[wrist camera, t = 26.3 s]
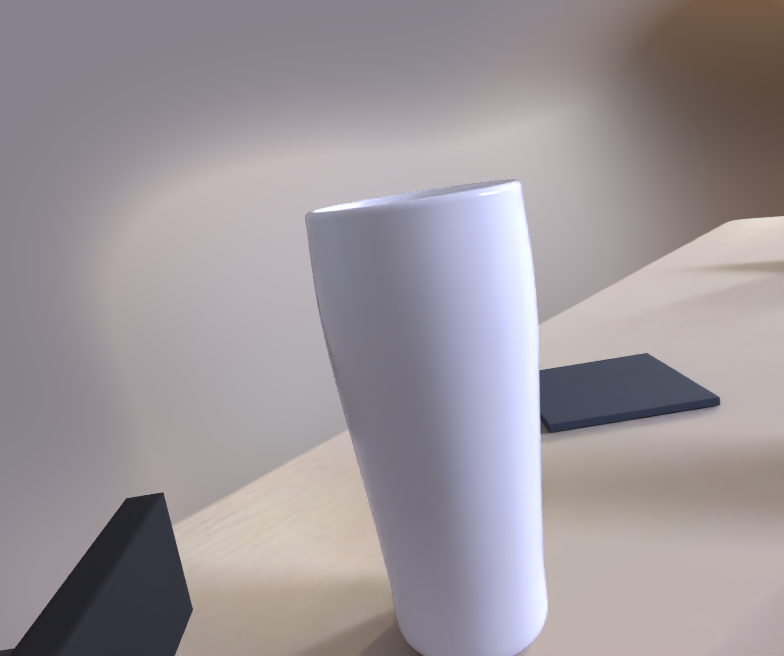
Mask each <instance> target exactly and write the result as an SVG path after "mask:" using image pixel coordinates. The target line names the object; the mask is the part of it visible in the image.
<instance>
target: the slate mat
mask: <svg viewBox="0 0 784 656" xmlns="http://www.w3.org/2000/svg"><path fill="white" fill-rule="evenodd" d="M716 405H720V398H719V397H718V396H717V395H715V394H713V393H712V392H710V391H708V390H707V389H705V388H704V387H702V386H700V385H699V384H697V383H695V382H694V381H692V380H690V379H689V378H687V377H685V376H684V375H682V374H681V373H679V372H677V371H676V370H674V369H672V368H671V367H669V366H667V365H666V364H664V363H662V362H661V361H659V360H657V359H656V358H654V357H653V356H651V355H649V354H648V353H644V354H638V355H632V356H626V357H620V358H613V359H607V360H601V361H595V362H589V363H582V364H576V365H570V366H564V367H558V368H551V369H545V370H540V419H541V421H542V422H543V423H544V425H545V426H546V427H547V429H548V430H549V431H550V432H555V431H562V430H568V429H574V428H580V427H586V426H592V425H599V424H605V423H611V422H617V421H623V420H629V419H636V418H642V417H648V416H654V415H660V414H666V413H672V412H679V411H685V410H691V409H697V408H703V407H709V406H716Z"/></svg>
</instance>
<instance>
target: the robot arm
mask: <svg viewBox="0 0 784 656" xmlns="http://www.w3.org/2000/svg"><path fill="white" fill-rule="evenodd" d="M192 611H193V608H192V604H191V600H190V596H189V592H188V588H187V584H186V580H185V576H184V572H183V568H182V564H181V560H180V557H179V553H178V549H177V545H176V541H175V537H174V533H173V529H172V525H171V521H170V517H169V513H168V509H167V505H166V501H165V498H164V493H157V494H151V495H144V496H138V497H132V498H126V500H125V501H124V502H123V504H122V505H121V506H120V508H119V509H118V510H117V512H116V513H115V514H114V516H113V517H112V518H111V520H110V521H109V522H108V524H107V525H106V526H105V528H104V529H103V530H102V532H101V533H100V535H99V536H98V537H97V538H96V540H95V541H94V543H93V544H92V545H91V547H90V548H89V549H88V551H87V552H86V553H85V555H84V556H83V557H82V559H81V560H80V561H79V563H78V564H77V565H76V567H75V568H74V569H73V571H72V572H71V574H70V575H69V576H68V577H67V579H66V580H65V582H64V583H63V584H62V586H61V587H60V588H59V590H58V591H57V592H56V594H55V595H54V596H53V598H52V599H51V600H50V602H49V603H48V604H47V606H46V607H45V608H44V610H43V611H42V612H41V614H40V615H39V616H38V618H37V619H36V621H35V622H34V623H33V625H32V626H31V627H30V629H29V630H28V631H27V633H26V634H25V635H24V637H23V638H22V639H21V641H20V642H19V643H18V645H17V646H16V647H15V648H14V649H8V650H2V651H0V656H175V654H176V651H177V648H178V646H179V643H180V641H181V638H182V636H183V633H184V631H185V628H186V626H187V623H188V621H189V618H190V616H191V613H192Z"/></svg>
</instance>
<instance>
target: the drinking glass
mask: <svg viewBox="0 0 784 656" xmlns="http://www.w3.org/2000/svg"><path fill="white" fill-rule="evenodd" d="M305 221H306V227H307V234H308V242H309V250H310V258H311V266H312V272H313V279H314V285H315V292H316V297H317V302H318V308H319V314H320V319H321V324H322V328H323V333H324V338H325V342H326V346H327V350H328V355H329V359H330V363H331V367H332V370H333V374H334V378H335V382H336V385H337V389H338V393H339V396H340V400H341V404H342V407H343V411H344V414H345V418H346V422H347V425H348V429H349V433H350V436H351V440H352V443H353V447H354V451H355V454H356V458H357V462H358V465H359V469H360V473H361V476H362V480H363V484H364V487H365V491H366V495H367V498H368V502H369V506H370V509H371V513H372V517H373V520H374V524H375V528H376V532H377V535H378V539H379V543H380V547H381V550H382V554H383V558H384V562H385V566H386V570H387V574H388V577H389V582H390V587H391V592H392V598H393V604H394V609H395V615H396V620H397V623H398V626H399V629H400V631H401V633H402V635H403V637H404V638H405V639H406V641H407V642H408V643H409V644H410V646H411V647H412V648H414V649H415V650H416V651H417V652H418V653H420V654H421V655H423V656H515V655H517V654H519V653H520V652H522V651H523V650H524V649H526V648H527V647H528V646H529V645H530V644H531V643H532V642H533V641H534V640H535V639H536V638H537V636H538V635H539V634H540V632H541V630H542V628H543V626H544V624H545V621H546V617H547V611H548V598H547V588H546V579H545V570H544V559H543V527H542V486H541V435H540V370H539V330H538V311H537V297H536V285H535V276H534V266H533V258H532V250H531V242H530V235H529V228H528V222H527V216H526V210H525V204H524V199H523V191H522V184H521V182H520V181H518V180H513V179H512V180H499V181H489V182H480V183H473V184H465V185H458V186H450V187H443V188H436V189H430V190H423V191H416V192H410V193H404V194H397V195H391V196H385V197H379V198H373V199H368V200H362V201H357V202H351V203H346V204H340V205H335V206H330V207H325V208H321V209H317V210H313V211H310V212H308V213H307V214H306V217H305Z"/></svg>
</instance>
